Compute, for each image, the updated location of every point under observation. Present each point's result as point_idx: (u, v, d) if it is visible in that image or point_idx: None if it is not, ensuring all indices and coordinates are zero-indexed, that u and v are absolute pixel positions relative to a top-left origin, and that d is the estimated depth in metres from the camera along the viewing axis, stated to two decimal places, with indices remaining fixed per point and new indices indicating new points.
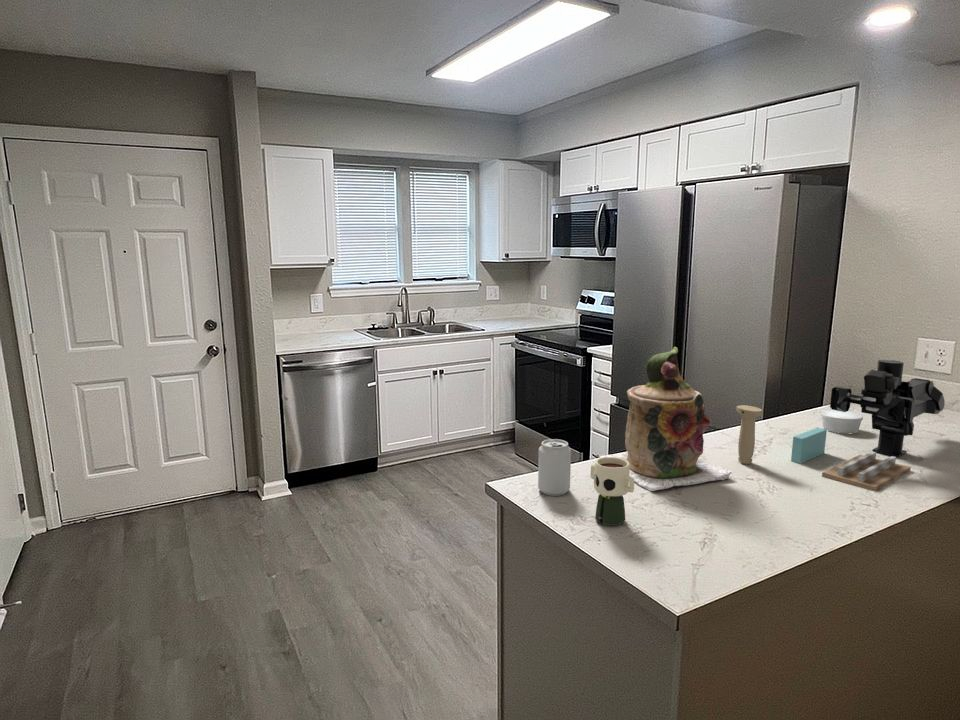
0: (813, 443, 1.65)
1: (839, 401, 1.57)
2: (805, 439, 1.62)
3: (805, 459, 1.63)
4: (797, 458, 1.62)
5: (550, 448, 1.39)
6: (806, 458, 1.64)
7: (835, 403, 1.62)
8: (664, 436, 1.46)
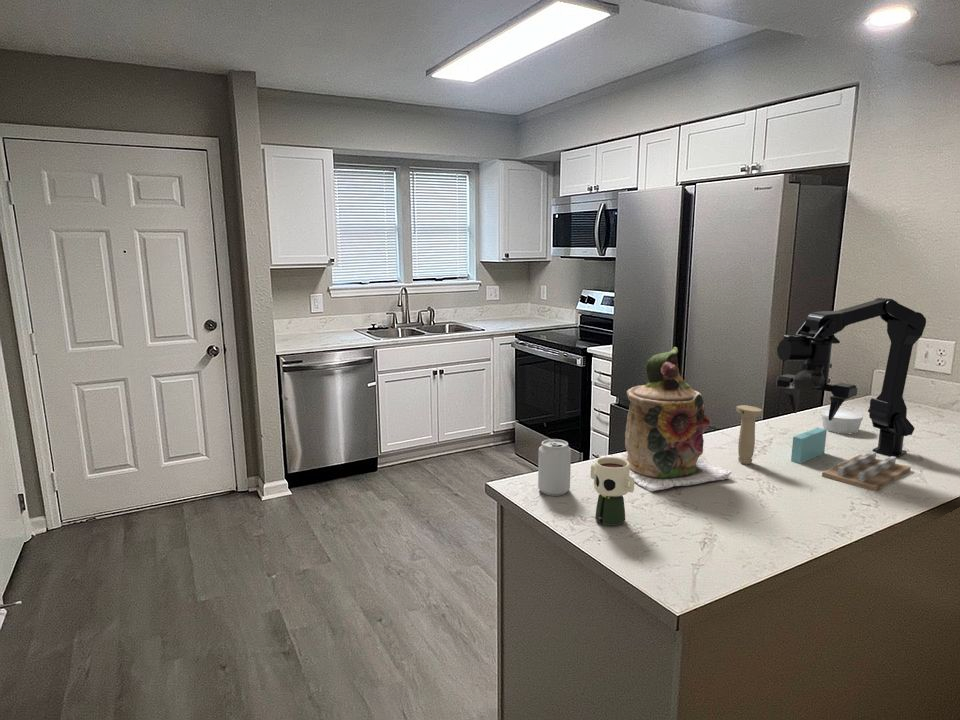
0: (813, 443, 1.65)
1: (793, 407, 1.68)
2: (805, 439, 1.62)
3: (805, 459, 1.63)
4: (797, 458, 1.62)
5: (550, 448, 1.39)
6: (806, 458, 1.64)
7: None
8: (664, 436, 1.46)
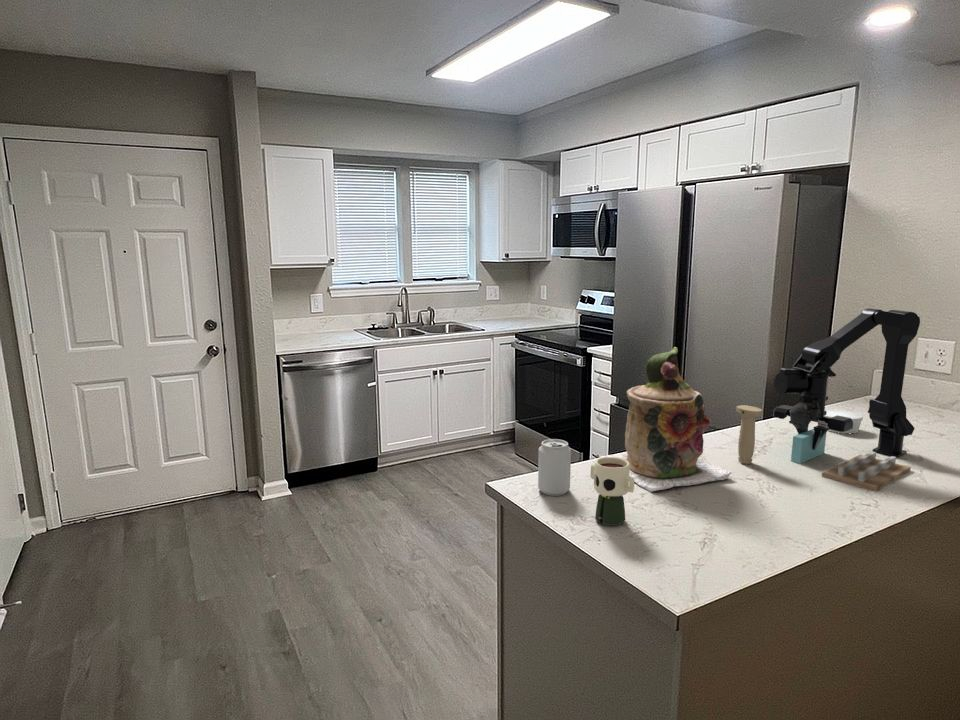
0: None
1: None
2: (805, 439, 1.62)
3: (805, 459, 1.63)
4: (797, 458, 1.62)
5: (550, 448, 1.39)
6: (806, 458, 1.64)
7: None
8: (663, 437, 1.46)
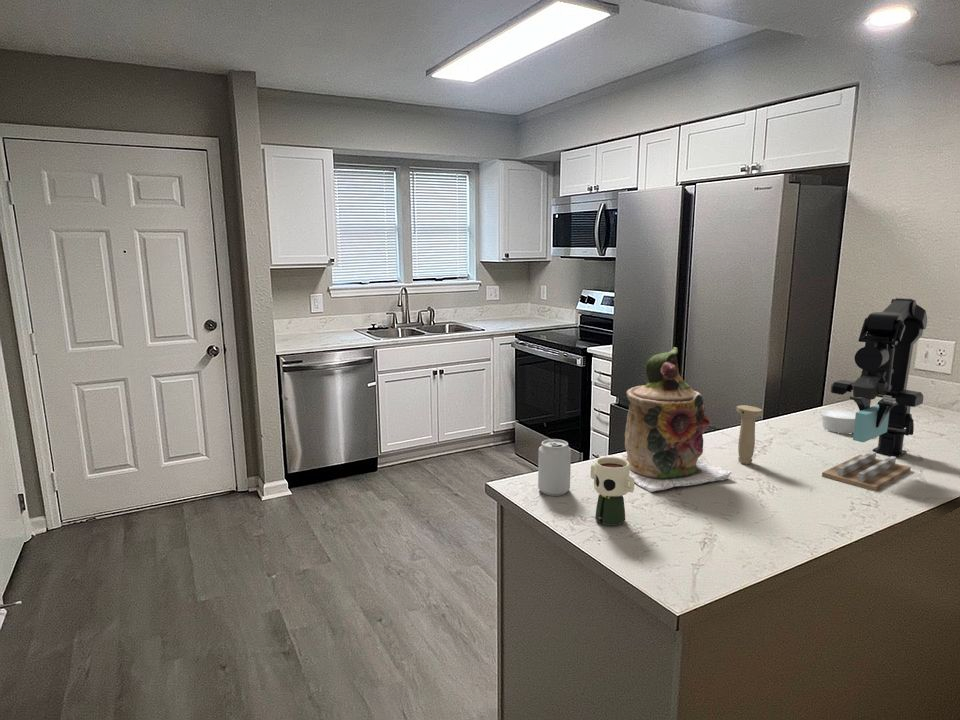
0: None
1: None
2: (869, 416, 1.48)
3: (868, 437, 1.49)
4: (860, 436, 1.48)
5: (550, 448, 1.39)
6: (869, 436, 1.50)
7: None
8: (663, 437, 1.46)
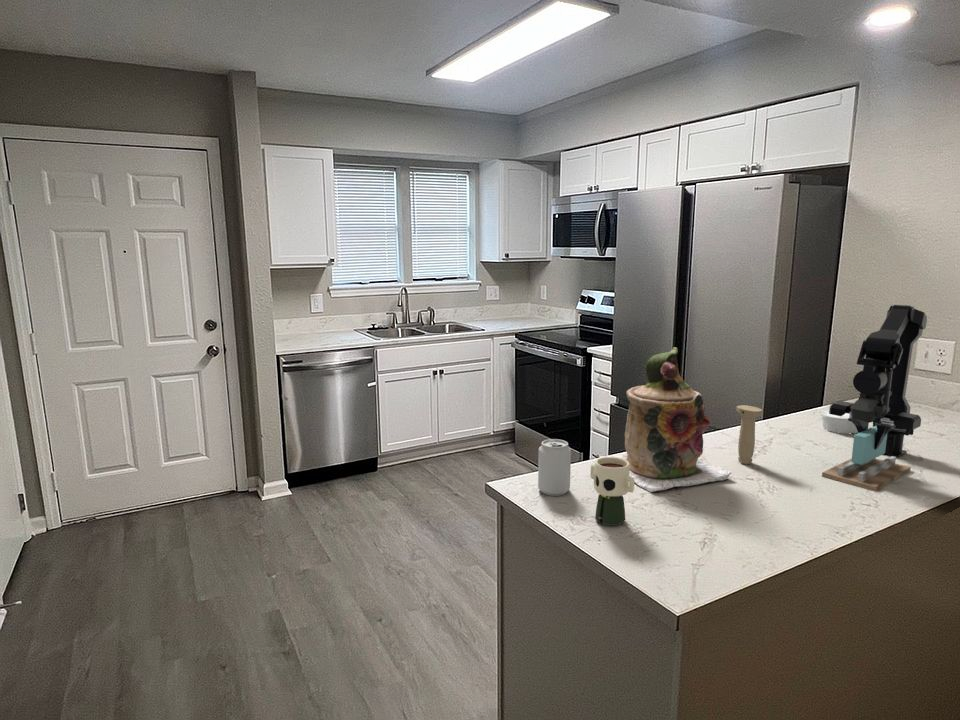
0: None
1: None
2: (868, 438, 1.49)
3: (867, 459, 1.50)
4: (858, 459, 1.49)
5: (550, 448, 1.39)
6: (868, 458, 1.50)
7: None
8: (663, 437, 1.46)
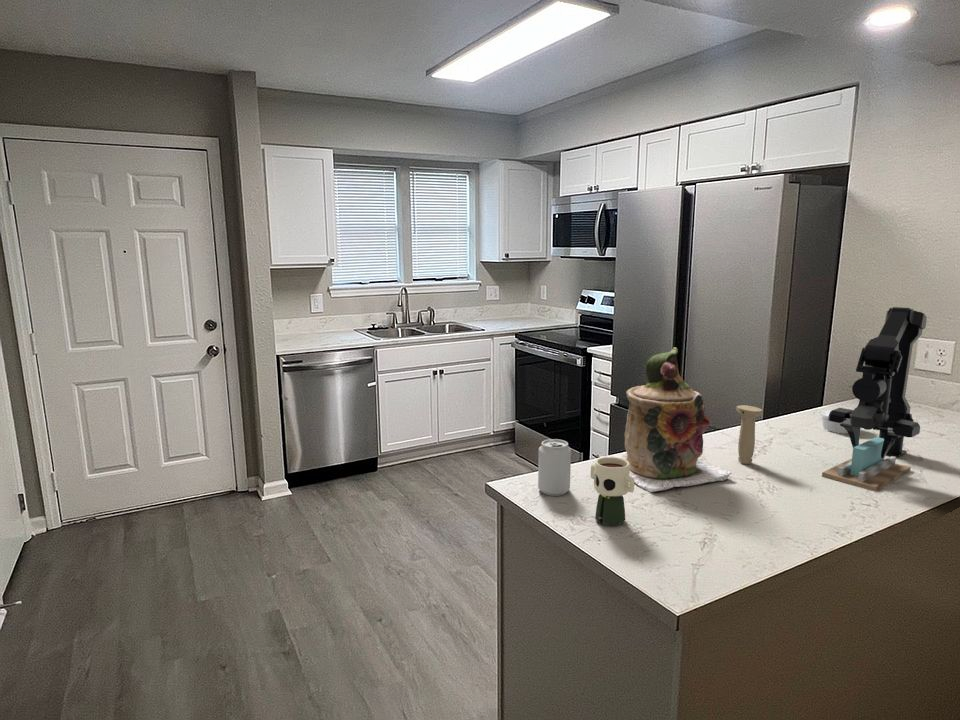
0: (874, 454, 1.52)
1: (853, 445, 1.55)
2: (867, 451, 1.49)
3: None
4: (857, 471, 1.50)
5: (550, 448, 1.39)
6: None
7: None
8: (663, 437, 1.46)
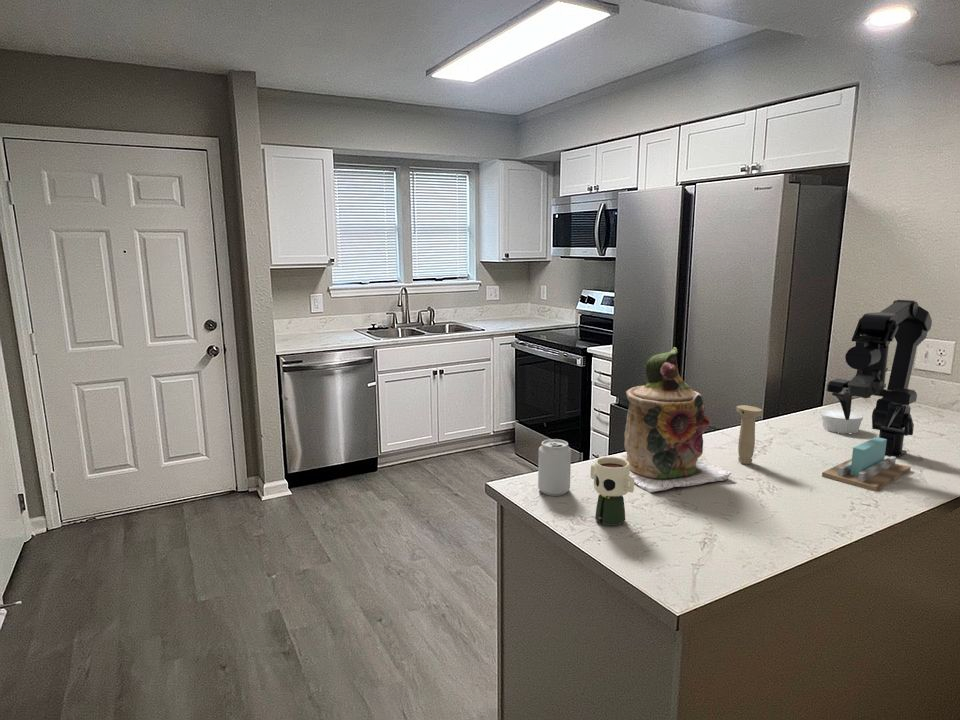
0: (874, 454, 1.52)
1: (845, 414, 1.59)
2: (867, 451, 1.49)
3: None
4: (857, 471, 1.50)
5: (550, 448, 1.39)
6: None
7: None
8: (663, 437, 1.46)
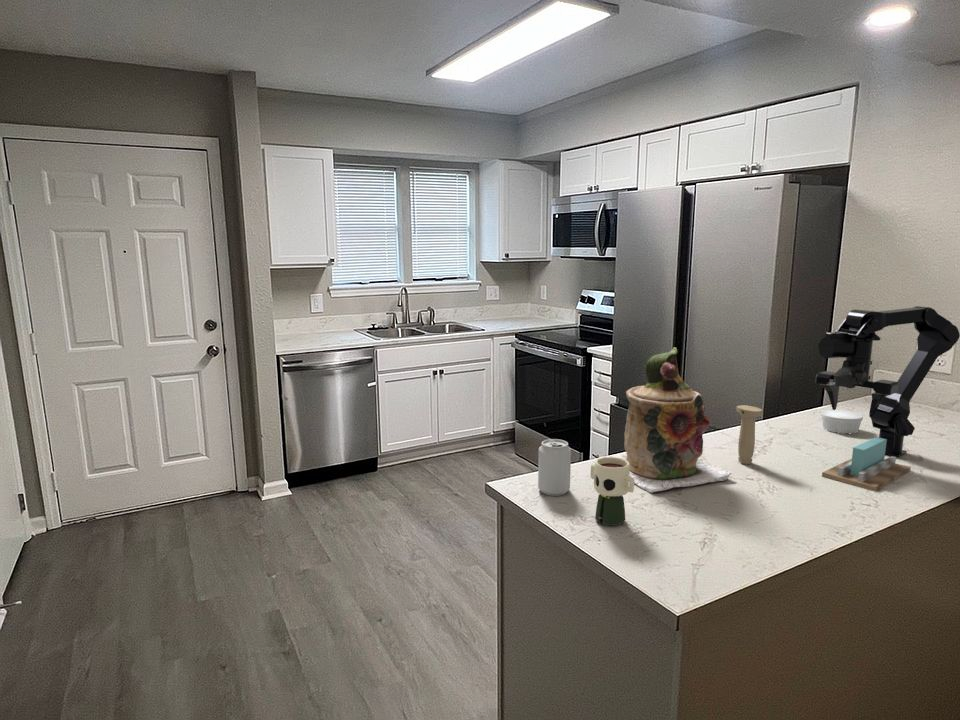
0: (874, 454, 1.52)
1: (832, 404, 1.69)
2: (867, 451, 1.49)
3: None
4: (857, 471, 1.50)
5: (550, 448, 1.39)
6: None
7: None
8: (663, 437, 1.46)
